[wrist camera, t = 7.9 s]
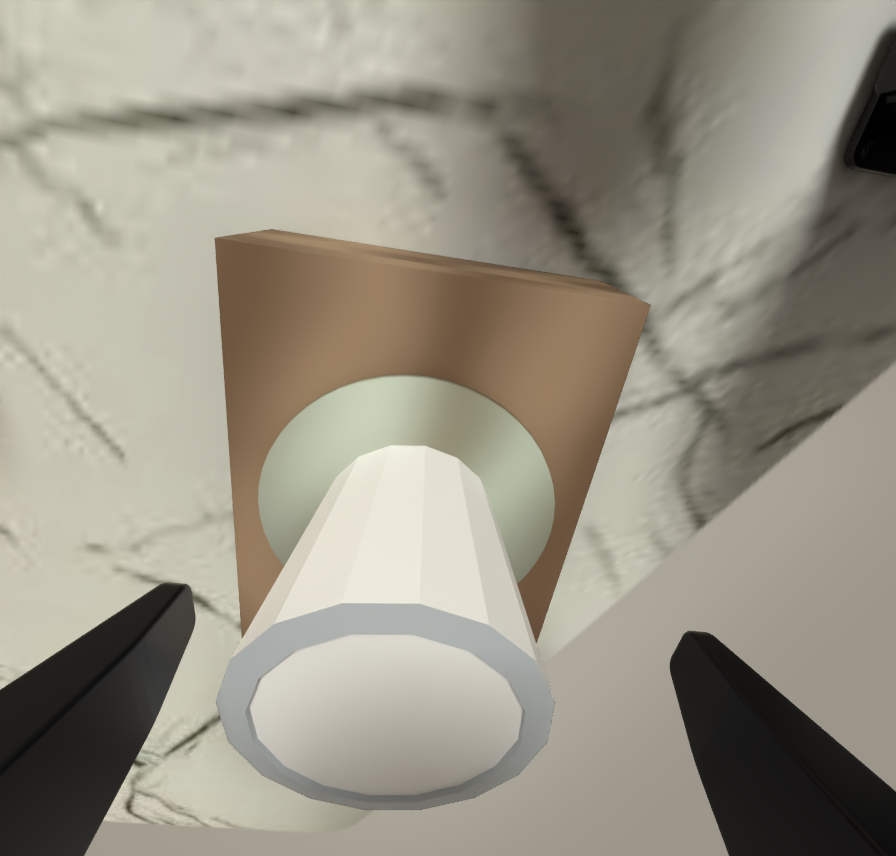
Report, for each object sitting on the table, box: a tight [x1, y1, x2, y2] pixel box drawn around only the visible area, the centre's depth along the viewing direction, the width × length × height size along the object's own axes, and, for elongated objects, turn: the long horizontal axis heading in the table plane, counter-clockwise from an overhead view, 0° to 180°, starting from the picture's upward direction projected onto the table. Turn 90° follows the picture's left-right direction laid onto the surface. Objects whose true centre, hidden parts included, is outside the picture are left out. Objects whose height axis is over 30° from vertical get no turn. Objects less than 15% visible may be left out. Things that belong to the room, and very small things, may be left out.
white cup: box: [216, 445, 555, 810], centre depth 12 cm, size 7×7×7 cm
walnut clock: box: [215, 229, 651, 643], centre depth 18 cm, size 12×16×5 cm
